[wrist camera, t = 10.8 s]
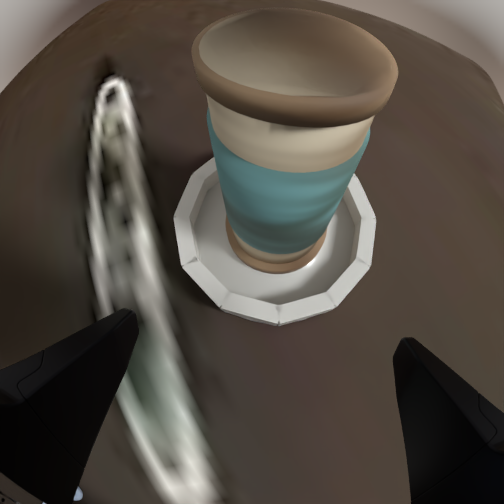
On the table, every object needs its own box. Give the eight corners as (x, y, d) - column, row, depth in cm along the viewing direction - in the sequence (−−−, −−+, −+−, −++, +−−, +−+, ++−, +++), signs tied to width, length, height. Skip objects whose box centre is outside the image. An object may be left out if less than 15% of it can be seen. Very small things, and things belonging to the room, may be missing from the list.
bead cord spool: (264, 294, 17) (276, 151, 5) (208, 215, 19) (153, 39, 7) (343, 238, 18) (439, 80, 6) (285, 170, 20) (305, -2, 8)
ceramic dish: (204, 345, 17) (197, 343, 15) (173, 178, 21) (166, 161, 19) (387, 292, 18) (401, 284, 16) (326, 146, 22) (331, 128, 20)
